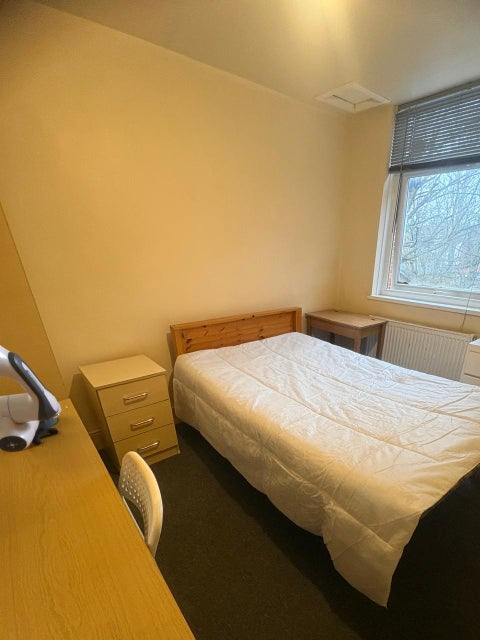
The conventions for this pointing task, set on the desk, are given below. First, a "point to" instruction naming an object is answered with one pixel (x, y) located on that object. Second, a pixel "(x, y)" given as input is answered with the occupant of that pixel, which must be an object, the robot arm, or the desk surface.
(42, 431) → the gaming controller
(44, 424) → the bowl
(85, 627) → the desk surface
